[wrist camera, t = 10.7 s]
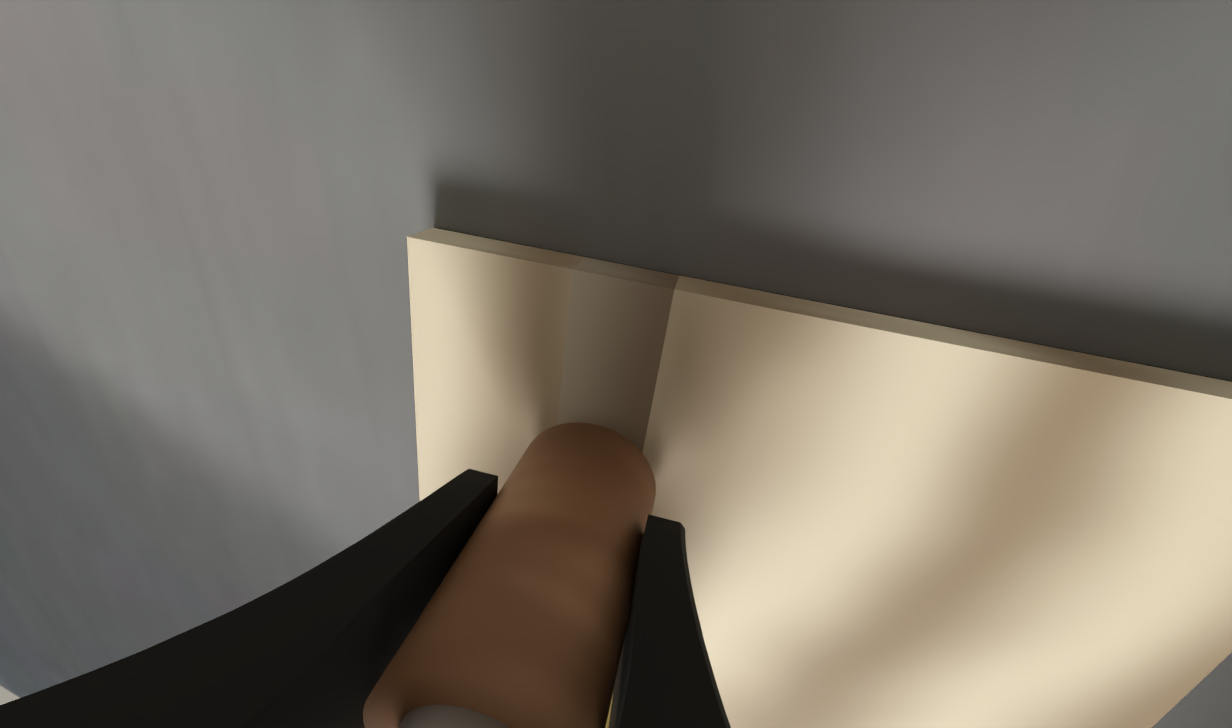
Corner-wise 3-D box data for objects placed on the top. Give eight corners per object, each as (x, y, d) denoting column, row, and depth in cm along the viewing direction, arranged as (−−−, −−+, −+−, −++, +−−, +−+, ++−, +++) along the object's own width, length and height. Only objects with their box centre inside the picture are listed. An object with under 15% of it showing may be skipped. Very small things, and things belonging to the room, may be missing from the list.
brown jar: (667, 441, 10) (581, 840, 5) (643, 549, 12) (554, 963, 6) (526, 408, 11) (283, 739, 5) (519, 516, 12) (322, 874, 6)
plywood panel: (1383, 411, 9) (1453, 442, 8) (912, 905, 18) (921, 945, 18) (432, 227, 11) (406, 236, 10) (446, 750, 21) (433, 778, 20)
